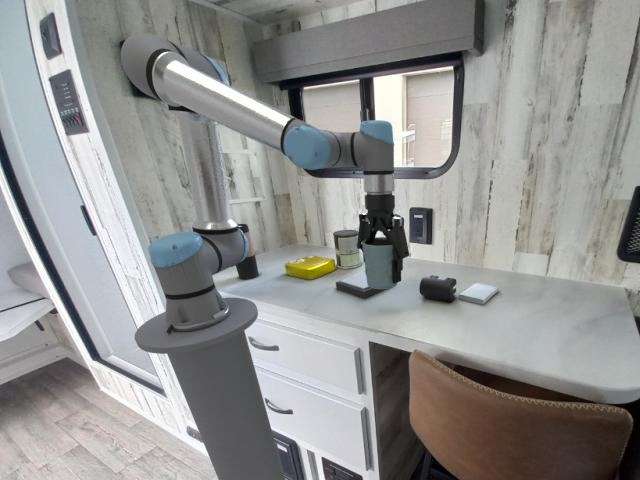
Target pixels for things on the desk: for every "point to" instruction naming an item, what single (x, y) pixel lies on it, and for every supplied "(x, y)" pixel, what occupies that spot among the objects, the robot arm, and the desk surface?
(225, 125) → the robot arm
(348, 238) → the coffee can
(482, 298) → the hard drive
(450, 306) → the desk surface
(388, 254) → the grey-blue cup
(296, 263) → the element tile
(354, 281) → the scale
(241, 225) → the travel mug
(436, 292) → the end cap
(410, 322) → the desk surface
